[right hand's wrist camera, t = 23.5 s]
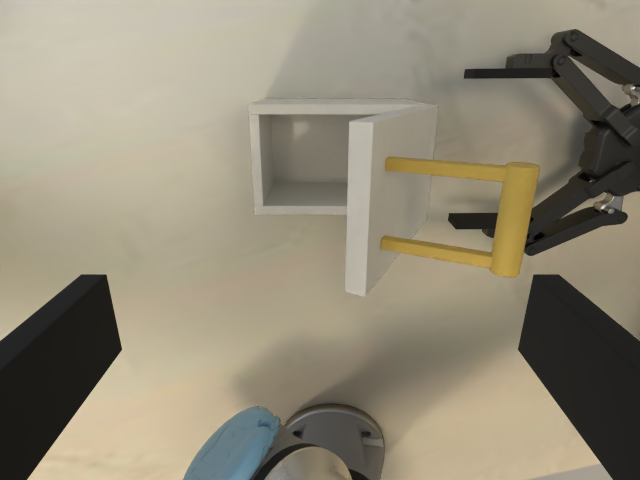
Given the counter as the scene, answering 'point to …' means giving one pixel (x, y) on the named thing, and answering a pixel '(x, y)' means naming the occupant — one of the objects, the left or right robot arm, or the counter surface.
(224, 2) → the counter surface
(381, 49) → the counter surface
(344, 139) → the chest
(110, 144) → the counter surface
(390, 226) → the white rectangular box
